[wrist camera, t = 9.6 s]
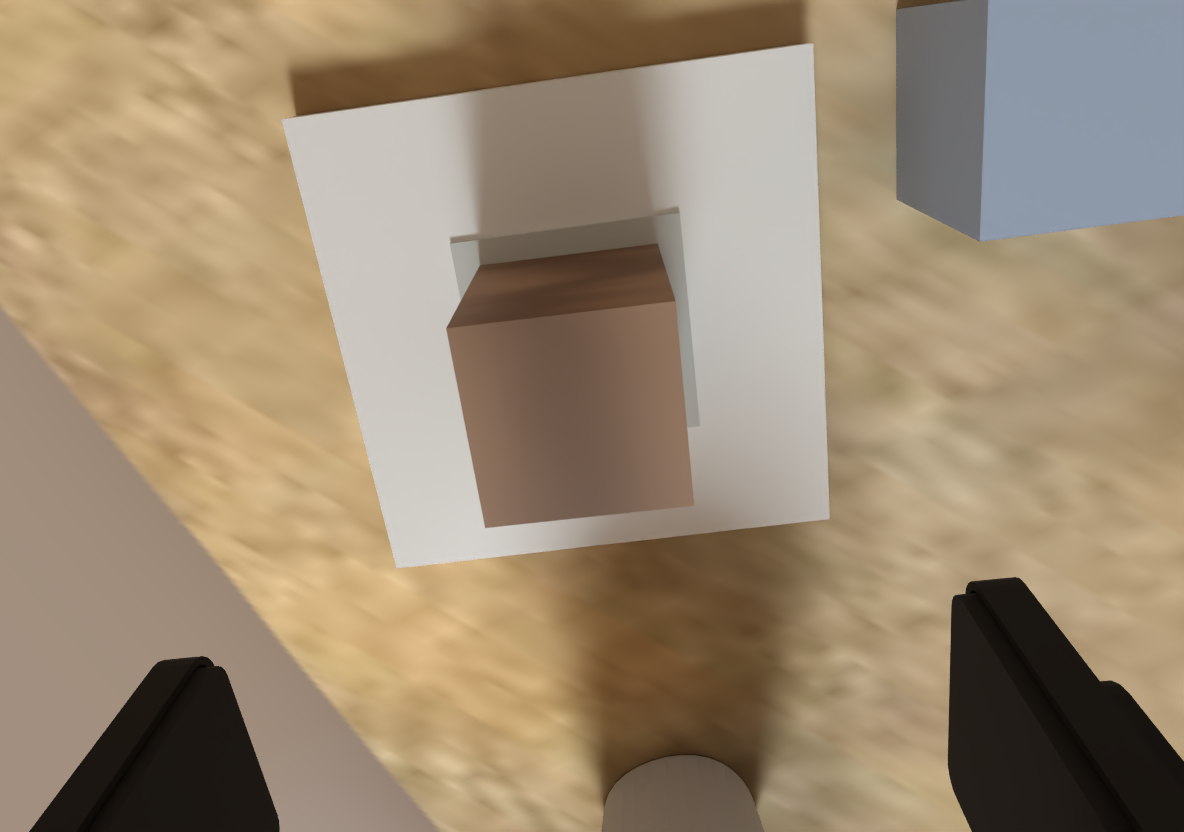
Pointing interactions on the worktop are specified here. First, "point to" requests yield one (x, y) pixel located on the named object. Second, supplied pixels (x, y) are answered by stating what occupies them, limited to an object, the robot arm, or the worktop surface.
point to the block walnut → (573, 387)
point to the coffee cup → (681, 798)
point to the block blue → (1040, 113)
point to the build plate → (569, 226)
